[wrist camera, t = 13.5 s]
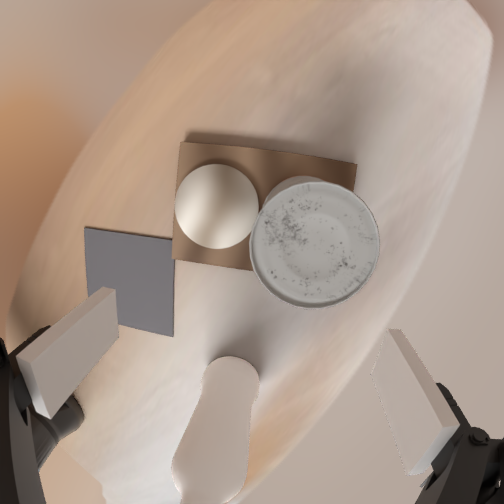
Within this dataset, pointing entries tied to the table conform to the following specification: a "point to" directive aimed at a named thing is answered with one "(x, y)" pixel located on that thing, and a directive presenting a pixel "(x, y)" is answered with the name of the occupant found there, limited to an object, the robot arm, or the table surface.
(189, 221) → the board
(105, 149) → the table surface
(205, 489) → the bottle
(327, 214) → the grey marbled cylinder
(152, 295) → the mat
